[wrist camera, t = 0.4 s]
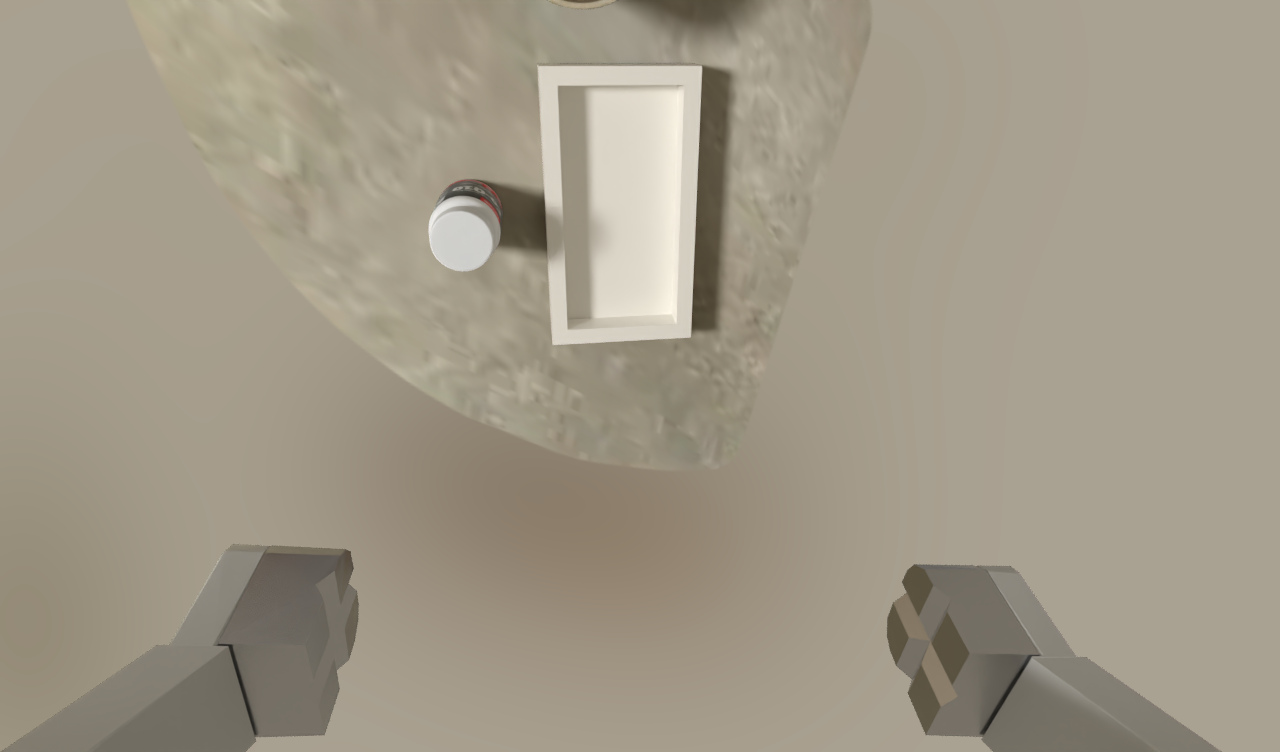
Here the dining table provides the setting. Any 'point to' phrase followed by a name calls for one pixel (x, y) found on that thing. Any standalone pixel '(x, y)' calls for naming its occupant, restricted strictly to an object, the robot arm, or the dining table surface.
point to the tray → (620, 198)
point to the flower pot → (582, 3)
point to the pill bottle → (465, 225)
